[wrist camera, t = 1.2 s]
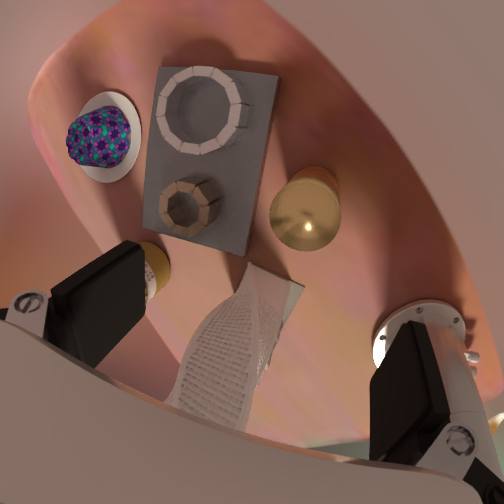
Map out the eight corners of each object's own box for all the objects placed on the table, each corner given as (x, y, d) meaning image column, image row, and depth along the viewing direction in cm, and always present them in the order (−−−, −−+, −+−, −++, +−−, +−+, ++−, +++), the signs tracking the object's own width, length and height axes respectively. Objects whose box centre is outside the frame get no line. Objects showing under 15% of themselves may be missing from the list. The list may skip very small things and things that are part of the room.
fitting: (344, 173, 28) (349, 193, 19) (332, 220, 30) (329, 259, 22) (295, 160, 29) (277, 174, 20) (285, 207, 31) (263, 240, 22)
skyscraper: (220, 300, 38) (89, 492, 13) (240, 246, 35) (72, 461, 10) (281, 328, 38) (199, 547, 13) (309, 277, 34) (232, 541, 9)
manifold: (281, 78, 26) (273, 71, 23) (247, 251, 34) (236, 266, 31) (166, 68, 28) (146, 63, 25) (148, 223, 36) (130, 234, 33)
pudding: (155, 166, 34) (129, 173, 29) (90, 192, 38) (63, 201, 33) (132, 76, 30) (104, 72, 25) (70, 114, 34) (43, 117, 29)
